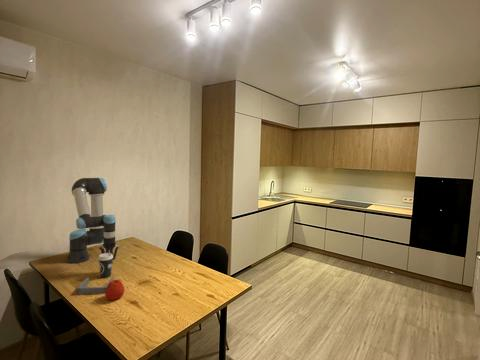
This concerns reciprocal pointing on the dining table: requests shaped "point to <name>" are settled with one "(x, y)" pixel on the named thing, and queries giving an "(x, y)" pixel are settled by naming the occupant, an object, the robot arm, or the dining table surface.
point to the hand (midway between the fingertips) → (109, 269)
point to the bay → (91, 288)
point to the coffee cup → (105, 264)
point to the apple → (114, 290)
